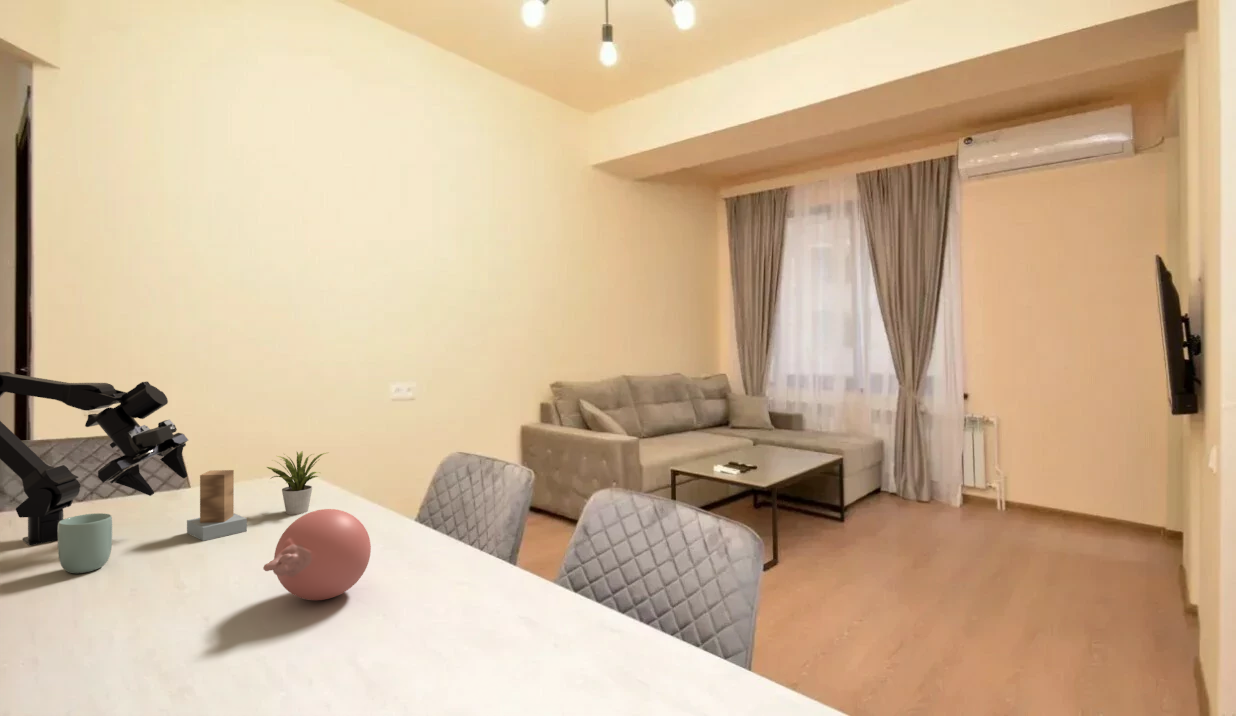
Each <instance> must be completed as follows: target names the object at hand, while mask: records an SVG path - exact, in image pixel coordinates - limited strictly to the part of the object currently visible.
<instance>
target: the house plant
mask: <svg viewBox="0 0 1236 716" xmlns="http://www.w3.org/2000/svg"><path fill="white" fill-rule="evenodd" d="M329 453H330V452H323V453H320V454H319V455H316V457H314V458H313V460H312V461H310V463H309V465H308V461H309V458H310V457H311V456H312V455H314V453H312V454H310V455H308V456H307V457H306V458H305V460H304V462H303V464H302V461H303V456H304V451H303V450H302V451H300V452H298V451H296V465H295V463H294V461H293V460H292V458H290V457H289V456H288V455H287V454H286V453H284V452H283V455H285V456H286V457H287V458H286V457H283V456H280V455H277V457H278V458H280V459H279V460H281V461H282V460H283V462H284V464H285V466H284V465H282V464H281V463H280V462H279V461H277V460H274V459H272V461H273V462H275V463H277V464H279V465H280V466H282V468H284V469H285V471H286V472H287V473H288V474H289V475H288V474H287V473H286V472H284V471H282V470H280V469H278V468H275V467H272V466H266V468H267V469H268V470H271V471H272V472H273V473H274V474H276V475H274V476H272V477H270V479H269V480H271V479H272V478H273V479H274V478H278V477H279V478H281V479H282V480H284V481H285V484H287V485H288V486H286V487H283V488H282V489H281V492H282V497H283V504H284V509H285V510H284V511H285V514H287V515H300V513H302V514H305V513H307V512H309V507H310V502H311V496H312V492H313V491H312V490H313V486H312V485H308V484H307V483H308V482H309V481H310V480H312V479H314V478H317V477H318V478H320V476H318V475H315V474H318V473H319V474H321V472H319V471H312V472H310V470H311V469H312V468H313V467H314V466H315V464H316V463H317V462H318V461H320V459H321V458H320V457H321V456H323V455H325V454H329ZM307 465H308V466H307ZM306 467H307V468H306ZM309 472H310V473H309ZM304 512H305V513H304Z"/></svg>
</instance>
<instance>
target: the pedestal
mask: <svg viewBox="0 0 1236 716" xmlns="http://www.w3.org/2000/svg"><path fill="white" fill-rule="evenodd" d="M247 523H248V518H247V517H244V516H241V515H240V514H236V513H234V516H233V517H231V518H230V519H228V520H227V521H225V522H213V523H200V517H197V518H192V519H187V520H186V533H187V534H188V535H190V536H192V537H194V538H196V539H199V540H201V541H203V542H205V541H210V540H213V539H218V538H222V537H227V536H231V535H235V534H239V533H244V532H247V530H248V525H247Z"/></svg>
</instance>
